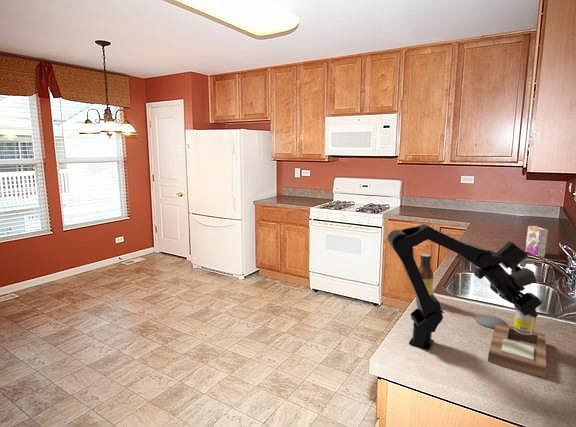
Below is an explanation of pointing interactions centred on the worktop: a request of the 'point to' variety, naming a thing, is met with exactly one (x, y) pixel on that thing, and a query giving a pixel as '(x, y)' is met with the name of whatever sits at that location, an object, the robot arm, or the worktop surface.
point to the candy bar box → (536, 240)
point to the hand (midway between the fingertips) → (530, 312)
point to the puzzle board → (518, 350)
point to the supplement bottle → (524, 323)
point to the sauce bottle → (426, 272)
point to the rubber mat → (489, 321)
